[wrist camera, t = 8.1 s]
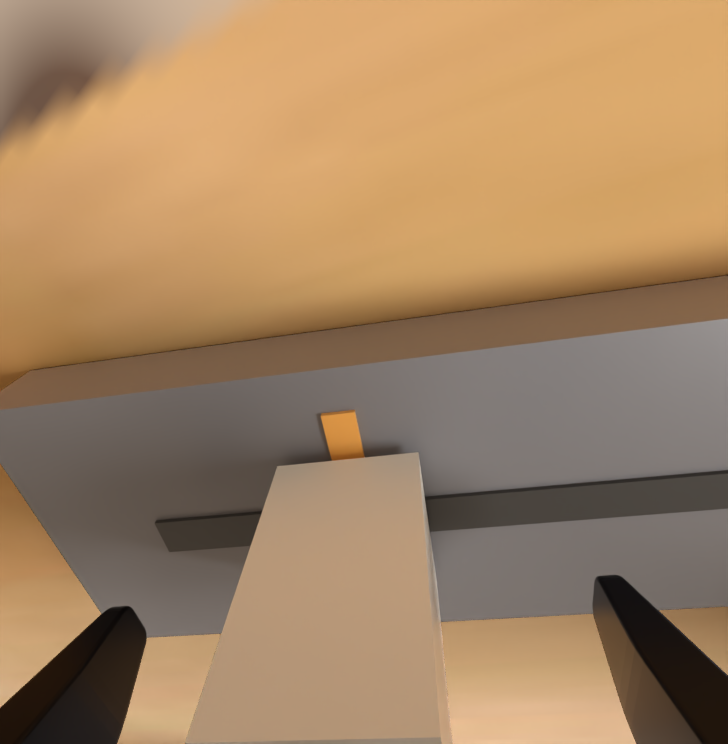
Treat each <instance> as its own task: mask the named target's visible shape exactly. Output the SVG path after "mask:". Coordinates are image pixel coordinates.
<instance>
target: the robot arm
mask: <svg viewBox="0 0 728 744" xmlns="http://www.w3.org/2000/svg"><path fill="white" fill-rule="evenodd" d="M592 608H593V614H594V619H595V622H596V625H597V628H598V632H599V635H600V638H601V641H602V644H603V648H604V651H605V654H606V657H607V661H608V664H609V667H610V670H611V673H612V677H613V680H614V683H615V686H616V690H617V693H618V696H619V699H620V702H621V705H622V708H623V711H624V714H625V717H626V719H627V722H628V724H629V727H630V729H631V732H632V734H633V737H634V739H635V741H636V744H728V675H727V674H726V673H725V672H723V671H722V670H721V669H720V668H719V667H718V666H717V665H716V664H715V663H714V662H713V661H712V660H711V659H710V658H709V657H707V656H706V655H705V654H704V653H703V652H702V651H701V650H700V649H699V648H698V647H697V646H696V645H695V644H694V643H693V642H691V641H690V640H689V639H688V638H687V637H686V636H685V635H684V634H683V633H682V632H681V631H680V630H679V629H678V628H677V627H675V626H674V625H673V624H672V623H671V622H670V621H669V620H668V619H667V618H666V617H665V616H664V615H663V614H662V613H661V612H659V611H658V610H657V609H656V608H655V607H654V606H653V605H652V604H651V603H650V602H649V601H648V600H647V599H646V598H645V597H643V596H642V595H641V594H640V593H639V592H638V591H637V590H636V589H635V588H634V587H633V586H632V585H631V584H630V583H629V582H627V581H626V580H625V579H624V578H623V577H621V576H619V575H603V576H597V577H596V578H595V581H594V592H593V602H592ZM146 639H147V633H146V629H145V627H144V626H143V624H142V623H141V621H140V619H139V618H138V616H137V614H136V613H135V611H134V610H133V608H132V607H130V606H117V607H111V608H109V609H107V610H106V611H105V612H103V613H102V614H101V615H100V616H99V617H98V618H97V619H96V620H95V621H94V622H93V623H91V624H90V625H89V626H88V627H87V628H86V629H85V630H84V631H83V632H82V633H81V634H80V635H78V636H77V637H76V638H75V639H74V640H73V641H72V642H71V643H70V644H69V645H68V646H67V647H65V648H64V649H63V650H62V651H61V652H60V653H59V654H58V655H57V656H56V657H55V658H54V659H52V660H51V661H50V662H49V663H48V664H47V665H46V666H45V667H44V668H43V669H42V670H41V671H39V672H38V673H37V674H36V675H35V676H34V677H33V678H32V679H31V680H30V681H29V682H28V683H26V684H25V685H24V686H23V687H22V688H21V689H20V690H19V691H18V692H17V693H16V694H15V695H13V696H12V697H11V698H10V699H9V700H8V701H7V702H6V703H5V704H4V705H3V706H2V707H0V744H117V742H118V739H119V736H120V733H121V731H122V728H123V724H124V721H125V718H126V714H127V711H128V707H129V704H130V700H131V696H132V693H133V689H134V685H135V682H136V678H137V674H138V671H139V667H140V663H141V659H142V656H143V652H144V648H145V645H146Z"/></svg>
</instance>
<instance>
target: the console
mask: <svg viewBox="0 0 728 744" xmlns="http://www.w3.org/2000/svg"><path fill="white" fill-rule="evenodd" d="M415 452H418V453H419V460H420V467H421V474H422V481H423V488H424V495H425V502H426V509H427V516H428V523H429V530H430V537H431V544H432V551H433V559H434V566H435V573H436V580H437V589H438V599H439V610H440V620H441V622H447V621H466V620H484V619H503V618H522V617H540V616H559V615H578V614H593V608H592V602H593V592H594V581H595V578H596V577H597V576H603V575H619V576H621V577H623V578H624V579H625V580H626V581H627V582H629V583H630V584H631V585H632V586H633V587H634V588H635V589H636V590H637V591H638V592H639V593H640V594H641V595H642V596H643V597H645V598H646V599H647V600H648V601H649V602H650V603H651V604H652V605H653V606H654V607H655V608H656V609H657V610H671V609H690V608H709V607H727V606H728V275H727V276H719V277H712V278H705V279H697V280H690V281H683V282H675V283H668V284H661V285H653V286H646V287H639V288H631V289H624V290H617V291H609V292H602V293H595V294H587V295H580V296H573V297H565V298H558V299H551V300H543V301H536V302H529V303H521V304H514V305H507V306H499V307H492V308H485V309H477V310H470V311H463V312H455V313H448V314H441V315H433V316H426V317H419V318H411V319H404V320H397V321H389V322H382V323H375V324H367V325H360V326H353V327H345V328H338V329H331V330H323V331H316V332H309V333H301V334H294V335H287V336H279V337H272V338H265V339H257V340H250V341H243V342H235V343H228V344H221V345H213V346H206V347H199V348H191V349H184V350H177V351H169V352H162V353H155V354H148V355H140V356H133V357H126V358H118V359H111V360H104V361H96V362H89V363H82V364H74V365H67V366H60V367H52V368H45V369H38V370H30V371H29V372H28V373H26V374H25V375H23V376H22V377H20V378H19V379H17V380H16V381H14V382H13V383H12V384H10V385H9V386H7V387H6V388H4V389H3V390H1V391H0V464H1V465H2V467H3V468H4V470H5V471H6V473H7V474H8V476H9V477H10V479H11V480H12V482H13V483H14V484H15V486H16V487H17V489H18V490H19V492H20V493H21V495H22V496H23V498H24V499H25V501H26V502H27V504H28V505H29V507H30V508H31V510H32V511H33V513H34V514H35V516H36V517H37V519H38V520H39V522H40V523H41V525H42V526H43V528H44V529H45V530H46V532H47V533H48V535H49V536H50V538H51V539H52V541H53V542H54V544H55V545H56V547H57V548H58V550H59V551H60V553H61V554H62V556H63V557H64V559H65V560H66V562H67V563H68V565H69V566H70V568H71V569H72V571H73V572H74V574H75V575H76V576H77V578H78V579H79V581H80V582H81V584H82V585H83V587H84V588H85V590H86V591H87V593H88V594H89V596H90V597H91V599H92V600H93V602H94V603H95V605H96V606H97V608H98V609H99V611H100V612H101V614H102V613H103V612H105V611H106V610H107V609H109V608H111V607H117V606H130V607H132V608H133V610H134V611H135V613H136V614H137V616H138V618H139V619H140V621H141V623H142V624H143V626H144V627H145V629H146V633H147V638H148V637H167V636H186V635H204V634H221V633H222V630H223V627H224V624H225V621H226V618H227V615H228V612H229V609H230V606H231V603H232V600H233V597H234V594H235V591H236V588H237V585H238V582H239V579H240V576H241V573H242V570H243V567H244V564H245V561H246V558H247V555H248V552H249V549H250V546H251V544H252V541H253V538H254V535H255V532H256V529H257V526H258V523H259V520H260V517H261V514H262V511H263V508H264V505H265V502H266V499H267V496H268V493H269V490H270V487H271V484H272V481H273V478H274V475H275V472H276V469H277V466H285V465H295V464H305V463H315V462H325V461H335V460H345V459H355V458H365V457H375V456H385V455H395V454H405V453H415Z"/></svg>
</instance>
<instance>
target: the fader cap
mask: <svg viewBox="0 0 728 744" xmlns="http://www.w3.org/2000/svg"><path fill="white" fill-rule="evenodd" d="M185 744H452V734H451V724H450V713H449V703H448V693H447V682H446V672H445V661H444V651H443V641H442V630H441V620H440V610H439V599H438V589H437V580H436V573H435V566H434V559H433V551H432V544H431V537H430V530H429V523H428V516H427V509H426V502H425V495H424V488H423V481H422V474H421V467H420V460H419V453H418V452H415V453H405V454H395V455H385V456H375V457H365V458H355V459H345V460H335V461H325V462H315V463H305V464H295V465H285V466H277V469H276V472H275V475H274V478H273V481H272V484H271V487H270V490H269V493H268V496H267V499H266V502H265V505H264V508H263V511H262V514H261V517H260V520H259V523H258V526H257V529H256V532H255V535H254V538H253V541H252V544H251V546H250V549H249V552H248V555H247V558H246V561H245V564H244V567H243V570H242V573H241V576H240V579H239V582H238V585H237V588H236V591H235V594H234V597H233V600H232V603H231V606H230V609H229V612H228V615H227V618H226V621H225V624H224V627H223V630H222V633H221V636H220V639H219V642H218V645H217V648H216V651H215V654H214V657H213V660H212V663H211V666H210V669H209V672H208V675H207V678H206V681H205V684H204V687H203V690H202V693H201V696H200V699H199V702H198V705H197V708H196V711H195V714H194V717H193V720H192V723H191V726H190V729H189V732H188V735H187V738H186V741H185Z"/></svg>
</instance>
